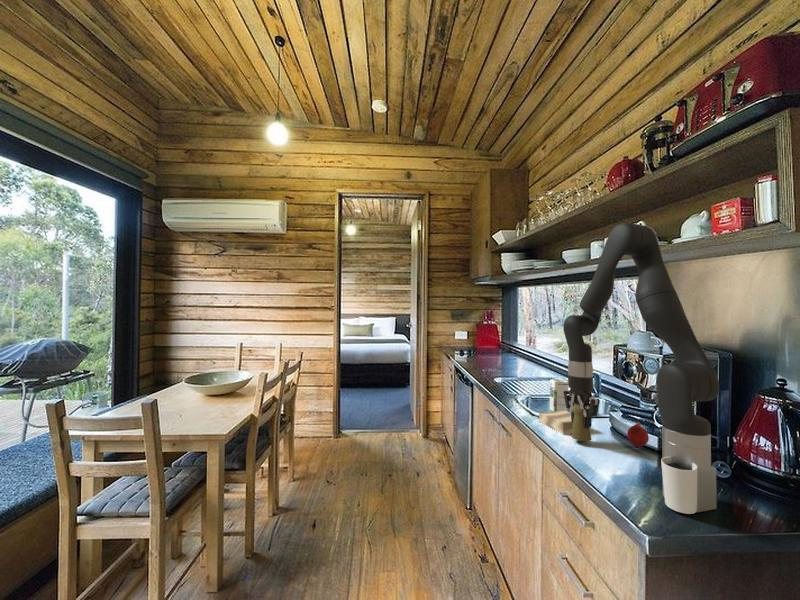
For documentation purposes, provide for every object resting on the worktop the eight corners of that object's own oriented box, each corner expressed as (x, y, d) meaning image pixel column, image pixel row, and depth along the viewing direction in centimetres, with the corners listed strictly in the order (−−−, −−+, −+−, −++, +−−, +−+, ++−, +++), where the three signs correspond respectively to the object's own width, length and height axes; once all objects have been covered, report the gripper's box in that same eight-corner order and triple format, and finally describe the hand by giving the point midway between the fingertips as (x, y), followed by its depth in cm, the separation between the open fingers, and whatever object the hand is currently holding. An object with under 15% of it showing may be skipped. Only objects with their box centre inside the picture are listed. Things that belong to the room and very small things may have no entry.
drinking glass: (655, 501, 84) (654, 459, 83) (675, 495, 86) (673, 454, 85) (686, 518, 77) (684, 473, 77) (706, 510, 79) (704, 466, 79)
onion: (644, 452, 110) (644, 426, 110) (624, 446, 115) (624, 422, 115) (651, 448, 114) (651, 423, 114) (631, 442, 118) (631, 418, 119)
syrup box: (549, 412, 152) (548, 379, 152) (562, 412, 152) (562, 379, 152) (554, 416, 146) (554, 381, 146) (568, 417, 146) (568, 381, 146)
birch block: (589, 433, 128) (589, 419, 128) (563, 437, 124) (563, 422, 124) (564, 423, 139) (564, 410, 139) (539, 426, 136) (539, 413, 136)
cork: (586, 434, 121) (586, 402, 121) (594, 441, 115) (594, 407, 115) (568, 434, 121) (568, 402, 122) (575, 440, 115) (575, 406, 116)
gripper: (607, 377, 113) (607, 431, 112) (574, 370, 126) (574, 418, 126) (587, 378, 111) (588, 433, 110) (556, 371, 125) (556, 419, 124)
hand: (581, 425), depth 118 cm, fingers closed on cork, 4 cm apart
